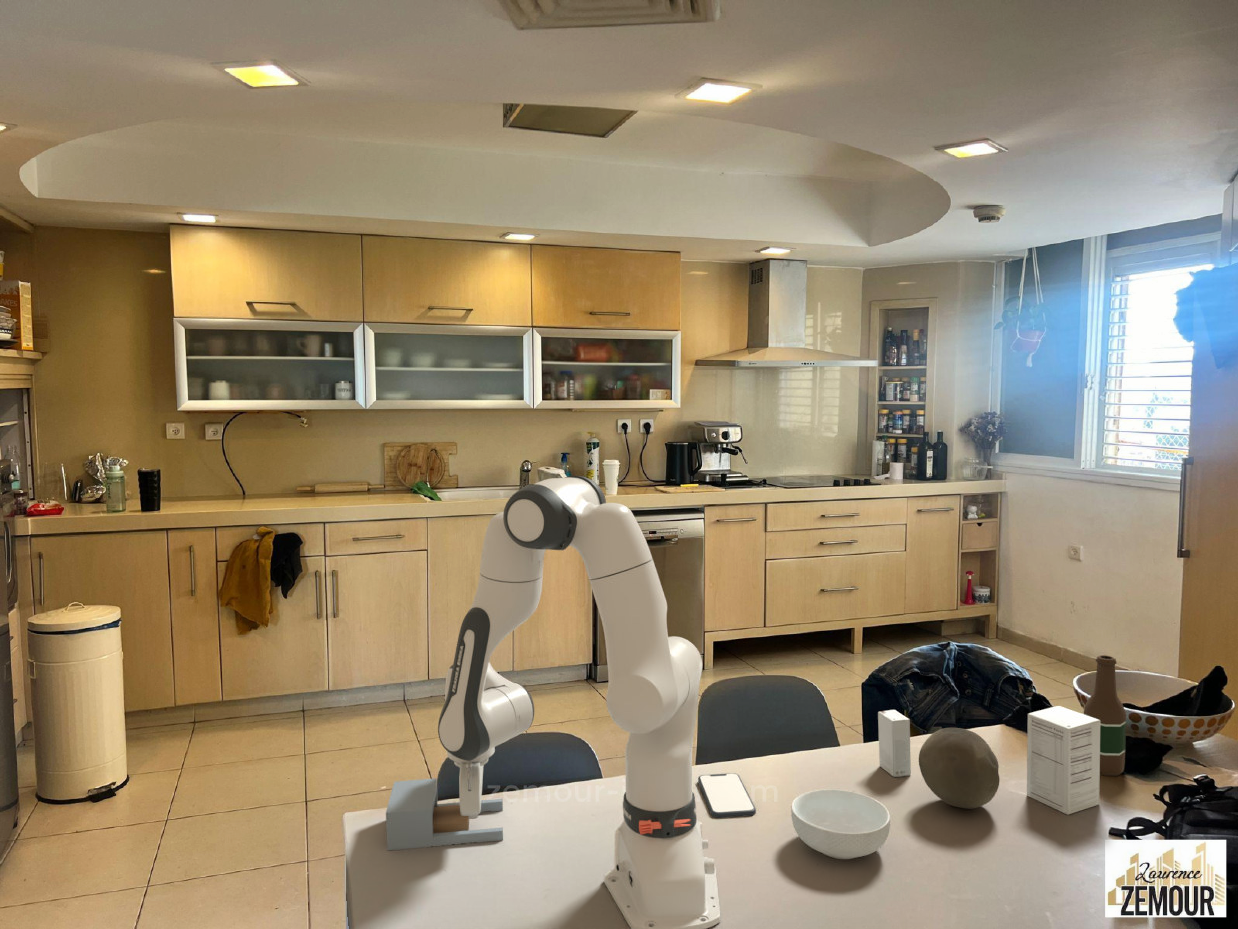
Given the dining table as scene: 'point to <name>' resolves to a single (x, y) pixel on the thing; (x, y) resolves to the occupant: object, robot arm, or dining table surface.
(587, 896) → the dining table surface
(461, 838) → the grey u-shaped frame
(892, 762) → the skincare box
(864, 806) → the cereal bowl
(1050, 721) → the supplement box
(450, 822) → the tan cardboard slab
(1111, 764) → the beer bottle
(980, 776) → the cantaloupe
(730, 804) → the smartphone
